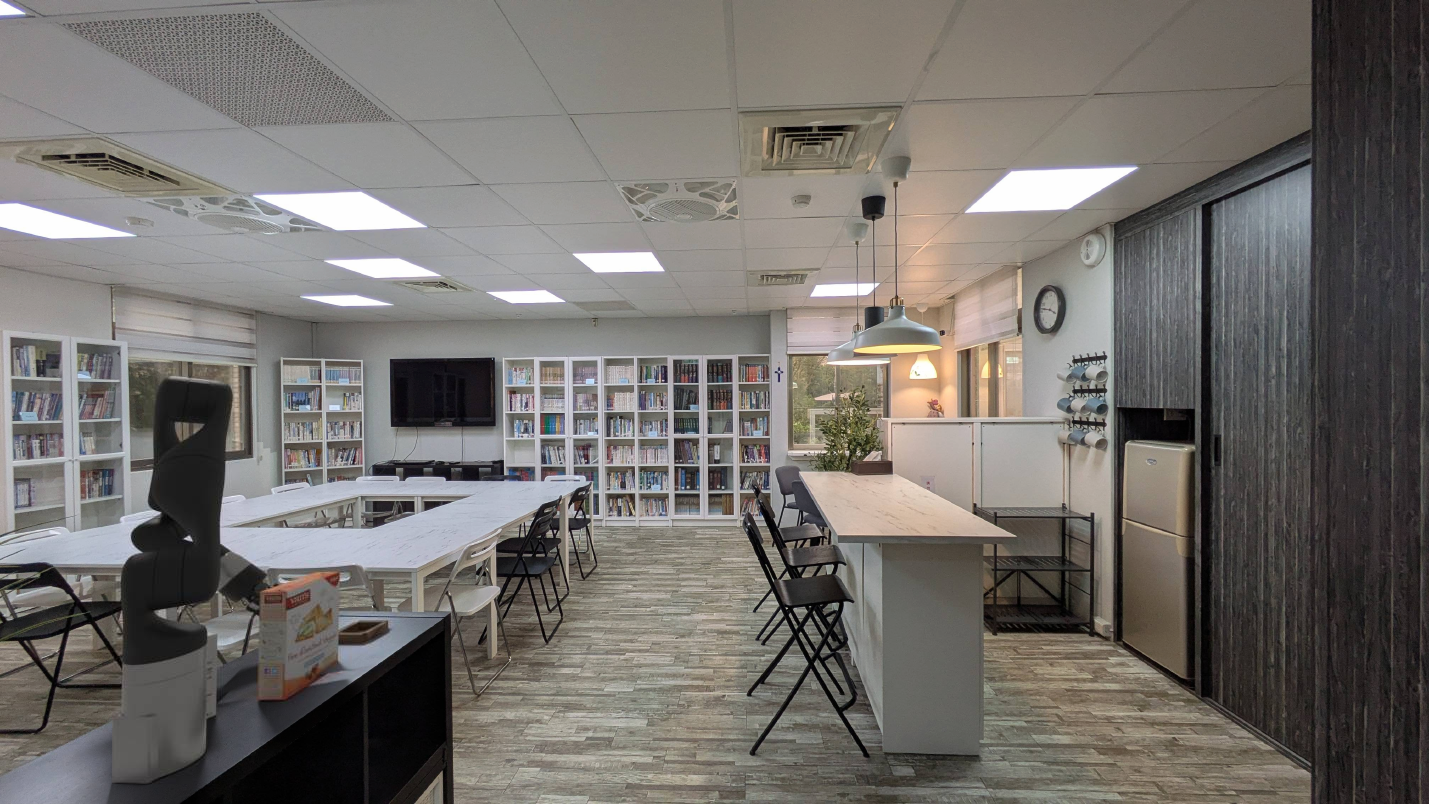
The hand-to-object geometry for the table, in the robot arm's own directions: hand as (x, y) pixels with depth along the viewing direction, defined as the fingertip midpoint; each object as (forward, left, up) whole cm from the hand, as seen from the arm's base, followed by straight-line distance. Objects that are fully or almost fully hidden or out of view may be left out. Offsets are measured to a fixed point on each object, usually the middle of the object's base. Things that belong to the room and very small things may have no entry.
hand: (299, 620), depth 121 cm
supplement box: (-29, -3, -7) cm, 30 cm away
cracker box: (-14, -14, -7) cm, 21 cm away
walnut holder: (+6, -10, -7) cm, 14 cm away
